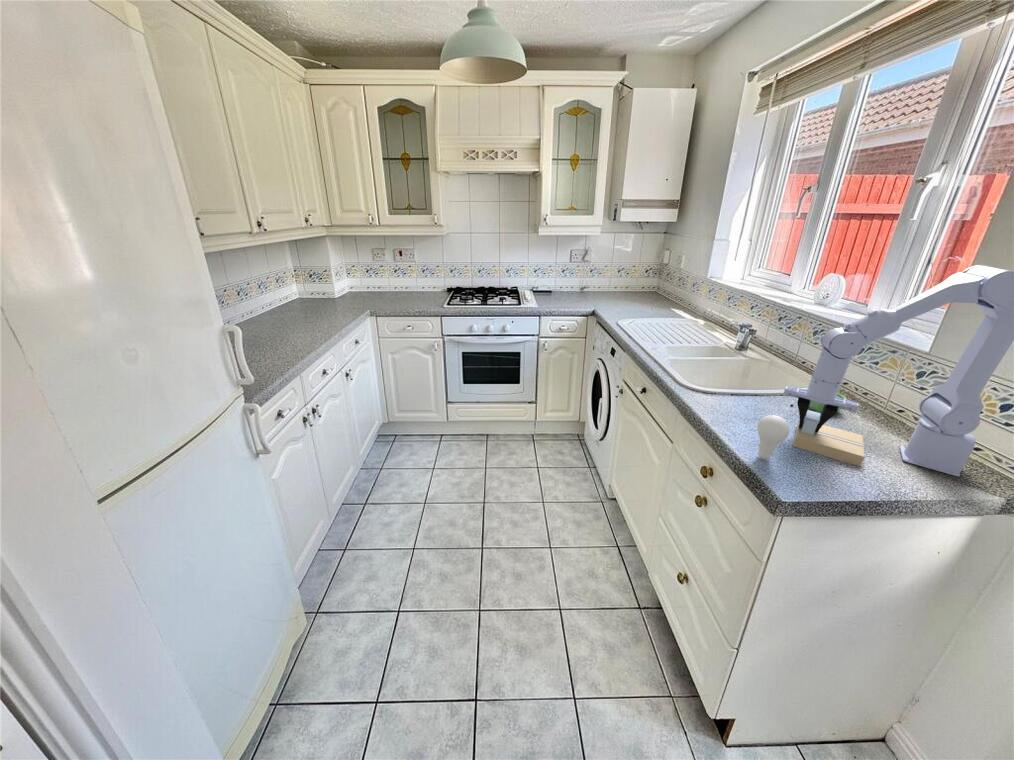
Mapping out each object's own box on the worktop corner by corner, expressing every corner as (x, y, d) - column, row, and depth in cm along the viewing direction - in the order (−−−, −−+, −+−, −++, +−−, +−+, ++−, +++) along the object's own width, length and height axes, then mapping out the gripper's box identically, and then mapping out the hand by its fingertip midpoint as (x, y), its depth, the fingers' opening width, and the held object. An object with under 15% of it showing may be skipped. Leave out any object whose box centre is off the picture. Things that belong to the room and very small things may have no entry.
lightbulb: (768, 451, 97) (781, 410, 93) (784, 466, 92) (800, 424, 87) (742, 450, 97) (755, 410, 93) (757, 466, 91) (772, 423, 87)
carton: (858, 444, 101) (862, 435, 100) (860, 466, 93) (864, 456, 92) (796, 427, 108) (799, 418, 107) (792, 446, 100) (796, 436, 99)
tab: (814, 427, 103) (820, 413, 101) (813, 435, 99) (819, 421, 98) (801, 423, 105) (807, 409, 103) (800, 431, 101) (805, 417, 99)
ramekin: (797, 404, 122) (801, 390, 120) (815, 399, 125) (820, 386, 124) (829, 417, 114) (834, 403, 113) (847, 412, 118) (853, 398, 116)
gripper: (865, 381, 95) (844, 431, 101) (792, 366, 103) (776, 413, 109) (866, 391, 90) (844, 443, 96) (789, 374, 98) (773, 423, 103)
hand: (808, 428), depth 102 cm, fingers closed on tab, 3 cm apart
